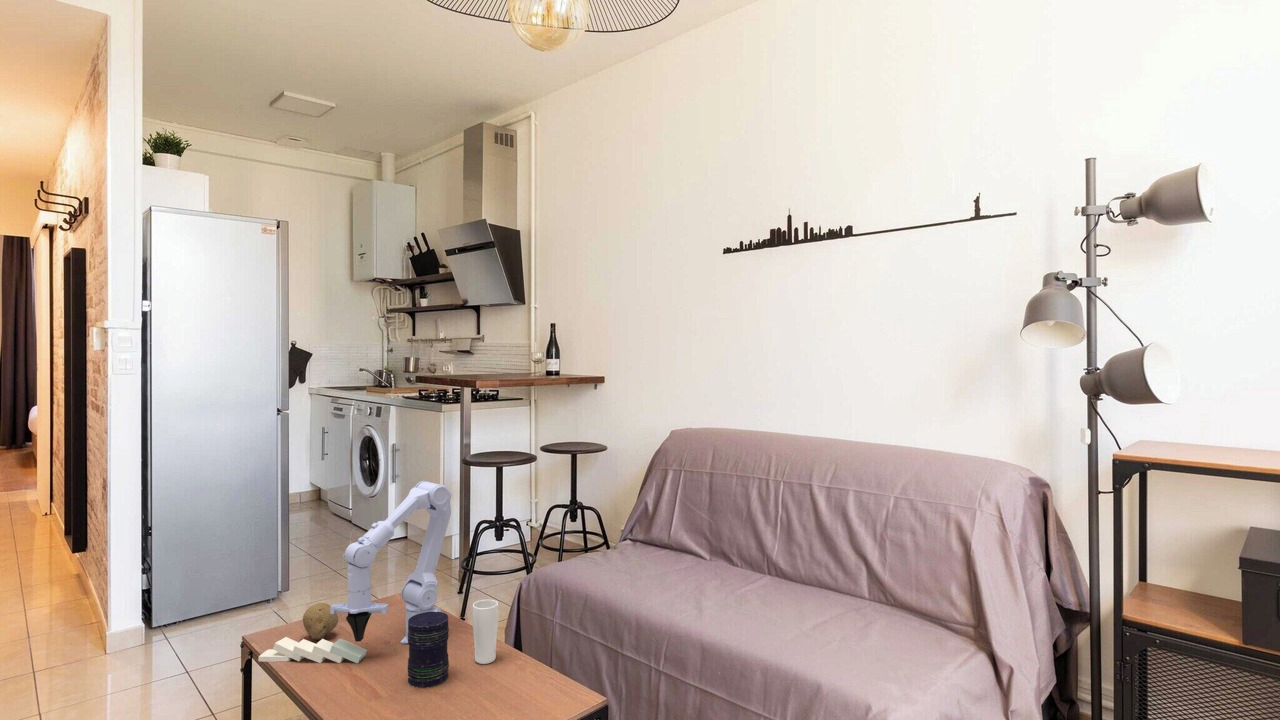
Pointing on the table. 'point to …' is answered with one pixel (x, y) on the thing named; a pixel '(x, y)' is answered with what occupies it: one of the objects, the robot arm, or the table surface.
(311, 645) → the domino
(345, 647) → the domino
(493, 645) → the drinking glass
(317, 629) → the natural sponge
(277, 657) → the domino
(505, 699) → the table surface
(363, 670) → the table surface
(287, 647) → the domino
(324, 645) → the domino
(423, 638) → the dark blue cylinder
